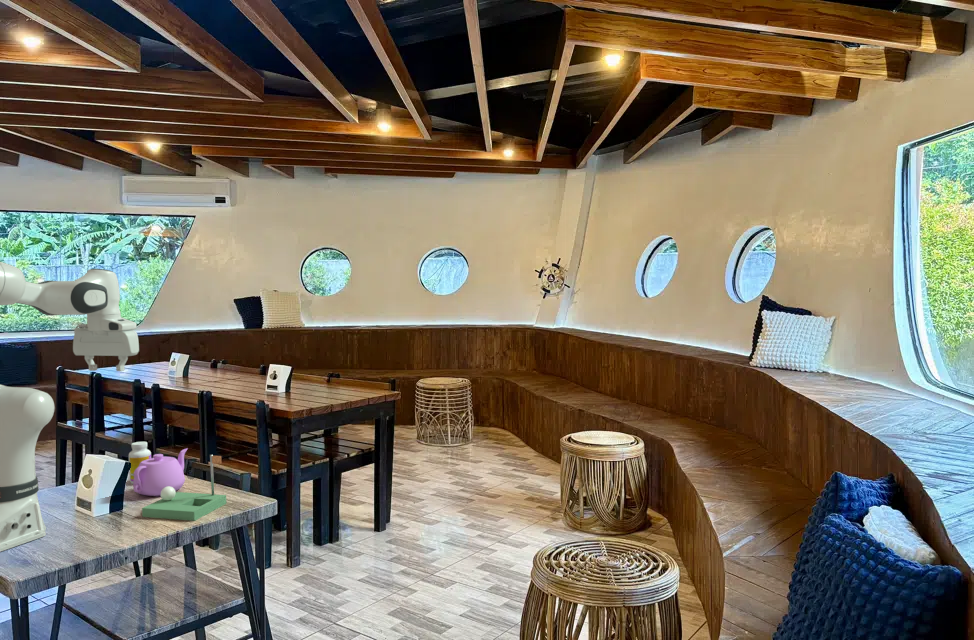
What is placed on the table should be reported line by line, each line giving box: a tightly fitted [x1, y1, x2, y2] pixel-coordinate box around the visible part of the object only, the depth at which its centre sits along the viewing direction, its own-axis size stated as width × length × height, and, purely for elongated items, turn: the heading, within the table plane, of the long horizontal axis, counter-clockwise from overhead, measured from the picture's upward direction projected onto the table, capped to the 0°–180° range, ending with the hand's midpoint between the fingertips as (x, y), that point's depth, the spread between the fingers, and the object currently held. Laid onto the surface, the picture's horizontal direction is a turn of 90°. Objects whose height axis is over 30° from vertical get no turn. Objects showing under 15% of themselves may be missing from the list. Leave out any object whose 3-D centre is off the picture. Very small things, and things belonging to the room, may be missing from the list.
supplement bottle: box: [128, 441, 152, 485], centre depth 238 cm, size 7×7×13 cm
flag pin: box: [209, 454, 222, 496], centre depth 214 cm, size 1×4×12 cm, turn 77°
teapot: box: [132, 447, 189, 497], centre depth 228 cm, size 20×13×12 cm, turn 154°
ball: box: [160, 486, 177, 501], centre depth 211 cm, size 4×4×4 cm
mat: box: [141, 491, 227, 522], centre depth 210 cm, size 15×17×2 cm
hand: (106, 370), depth 217 cm, fingers open, 8 cm apart
